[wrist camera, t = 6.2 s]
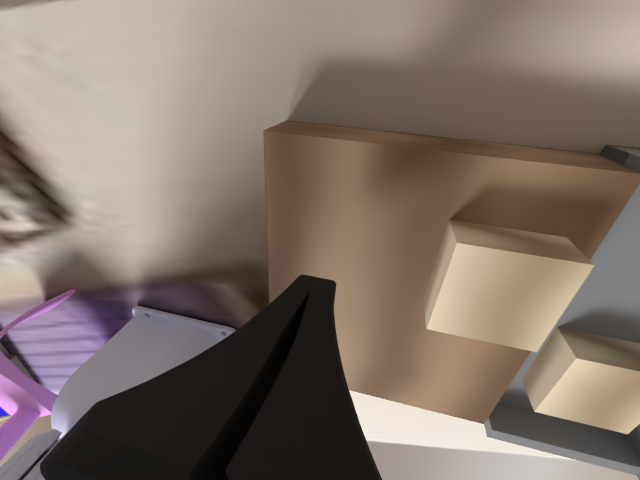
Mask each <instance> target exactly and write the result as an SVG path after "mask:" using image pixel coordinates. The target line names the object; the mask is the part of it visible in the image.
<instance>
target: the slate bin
mask: <svg viewBox="0 0 640 480" xmlns="http://www.w3.org/2000/svg"><path fill="white" fill-rule="evenodd" d="M601 156H602V157H605V158H607V159H610V160H612V161H614V162H617V163H619V164H622V165H624V166H626V167H629V168H631V169H634V170H636V171H638V172H640V148H632V147H622V146H612V145H606V147H605V148H604V150H603V152H602V154H601ZM590 261H591V262H592V263H593V264H594V265H595V266H594V267H593V269H592V270H591V272H590V273H589V275H588V276H587V278H586V279H585V281H584V282H583V284H582V285H581V287H580V288H579V290H578V291H577V293H576V294H575V296H574V297H573V299H572V300H571V302H570V303H569V305H568V306H567V308H566V309H565V311H564V312H563V314H562V315H561V317H560V318H559V320H558V321H557V323H556V324H555V326H554V327H553V329H552V330H551V332H550V333H549V335H548V336H547V338H546V339H545V341H544V342H543V344H542V345H541V347H540V348H539V350H538V351H537V352H533V351H531V352H530V354H529V355H528V357H527V359H526V360H525V362H524V363H523V365H522V366H521V368H520V369H519V371H518V372H517V374H516V376H515V377H514V379H513V380H512V382H511V383H510V385H509V386H508V388H507V389H506V391H505V393H504V394H503V396H502V397H501V399H500V400H499V402H498V403H497V405H496V406H495V408H494V410H493V411H492V413H491V414H490V416H489V417H488V419H487V420H486V422H485V423H484V425H485V429H486V433H487V437H490V438H494V439H498V440H502V441H506V442H510V443H513V444H517V445H521V446H525V447H529V448H533V449H537V450H541V451H544V452H548V453H552V454H556V455H560V456H564V457H568V458H571V459H575V460H579V461H583V462H587V463H591V464H595V465H598V466H603V467H606V468H610V469H614V470H618V471H622V472H626V473H630V474H633V475H637V477H638V479H639V480H640V424H639V425H638V426H637V427H636V428H634V429H633V430H632V431H631V432H630V433H629V434H624V433H620V432H616V431H612V430H608V429H604V428H600V427H595V426H591V425H587V424H583V423H579V422H575V421H571V420H567V419H562V418H558V417H554V416H550V415H546V414H542V413H538V412H534V410H533V407H532V405H531V402H530V400H529V397H528V395H527V392H526V390H525V387H524V385H523V382H522V380H521V379H522V378H523V376H524V375H525V373H526V372H527V370H528V369H529V367H530V366H531V364H532V363H533V361H534V360H535V359H536V357H537V356H538V354H539V353H540V351H541V350H542V348H543V347H544V345H545V344H546V342H547V341H548V339H549V338H550V336H551V335H552V334H553V332H554V331H555V329H556V328H557V327H560V328H565V329H570V330H575V331H580V332H585V333H590V334H595V335H600V336H605V337H610V338H615V339H620V340H625V341H630V342H635V343H640V184H639V186H638V187H637V189H636V190H635V192H634V193H633V195H632V196H631V198H630V199H629V201H628V203H627V204H626V206H625V207H624V209H623V210H622V212H621V213H620V215H619V216H618V218H617V220H616V221H615V223H614V224H613V226H612V227H611V229H610V230H609V232H608V233H607V235H606V237H605V238H604V240H603V241H602V243H601V244H600V246H599V247H598V249H597V250H596V252H595V253H594V255H593V257H592V258H591V260H590Z"/></svg>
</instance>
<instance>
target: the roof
mask: <svg viewBox="0 0 640 480" xmlns="http://www.w3.org/2000/svg"><path fill="white" fill-rule="evenodd" d="M0 350H1V352H2V353H3V354H4V355H5V356H6V357H7V358H8V359H9V360H10V361H11V362H12V363H13V364H14V365H15V366H16V367H17V368H18V369H19V370H20V371H21V372H22V373H24V374H25V375H26V376H27V377H29V378H30V379H31V380H33V381H34V382H35V380H34V379H33V378H32V376H31V375H30V374H29V372H28V371H27V370H26V368H25V367H24V366H23V364H22V363H21V362H20V360H19V359H18V358H17V356H16V355H12V354H9V352H8V351H7V350H6V348H5V347H4V346H3V345H2V343H1V342H0ZM10 417H11V415H9V414H8V413H7V412H6V411H5V410H3V409H2V408H1V407H0V420H5V419H9V418H10Z"/></svg>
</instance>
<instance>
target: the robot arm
mask: <svg viewBox="0 0 640 480" xmlns="http://www.w3.org/2000/svg"><path fill="white" fill-rule="evenodd" d="M335 293H336V282H335V281H334V280H329V279H324V278H319V277H314V276H309V275H303V274H301V275H300V276H298V277H297V278H296V279H295V280H294V281H293V282H292V283H291V284H290V285H289V286H288V287H287V288H286V289H285V290H284V291H283V292H282V293H281V294H280V295H279V296H278V297H277V298H276V299H274V300H273V301H272V302H271V303H270V304H269V305H268V306H267V307H265V308H264V309H263V310H262V311H261V312H259V313H258V314H257V315H256V316H254V317H253V318H252V319H251V320H249V321H248V322H247V323H246V324H244V325H243V326H241V327H240V328H239V329H237V330H235V329H234V328H231V327H227V326H223V325H218V324H214V323H210V322H206V321H201V320H197V319H193V318H188V317H184V316H180V315H175V314H171V313H167V312H163V311H158V310H154V309H150V308H145V307H141V306H135V307H134V308H133V309H132V313H133V315H134V317H133V318H132V319H131V320H130V321H129V322H128V323H127V324H126V325H125V326H124V327H123V328H122V329H121V330H119V331H118V332H117V333H116V334H115V335H114V336H113V337H112V338H111V339H110V340H109V341H108V342H107V343H105V344H104V345H103V346H102V347H101V348H100V349H99V350H98V351H97V352H96V353H95V354H94V355H93V356H92V357H90V358H89V359H88V360H87V361H86V362H85V363H84V364H83V365H82V366H81V367H80V368H79V369H78V370H77V371H76V372H75V373H74V374H73V375H72V376H71V377H70V378H69V380H68V381H67V382H66V383H65V385H64V386H63V388H62V389H61V391H60V393H59V395H58V396H57V398H56V400H55V403H54V405H53V408H52V413H51V426H52V430H50V431H49V432H44V433H41V434H37V435H35V436H34V437H33V438H31V439H30V440H29V441H28V442H27V443H26V444H25V445H24V446H22V447H21V448H20V449H19V450H18V451H17V452H16V453H15V454H14V455H13V456H12V457H11V458H10V459H9V460H8V461H7V462H6V463H4V464H3V466H1V467H0V480H382V478H381V476H380V474H379V471H378V469H377V467H376V464H375V462H374V459H373V457H372V454H371V452H370V449H369V447H368V444H367V442H366V439H365V436H364V434H363V431H362V428H361V426H360V423H359V420H358V417H357V414H356V411H355V408H354V405H353V401H352V398H351V395H350V392H349V389H348V385H347V381H346V378H345V374H344V370H343V366H342V362H341V357H340V352H339V347H338V341H337V335H336V328H335V317H334V301H335ZM58 437H60V438H61V439H60V440H59V441H58V440H57V439H58Z"/></svg>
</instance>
